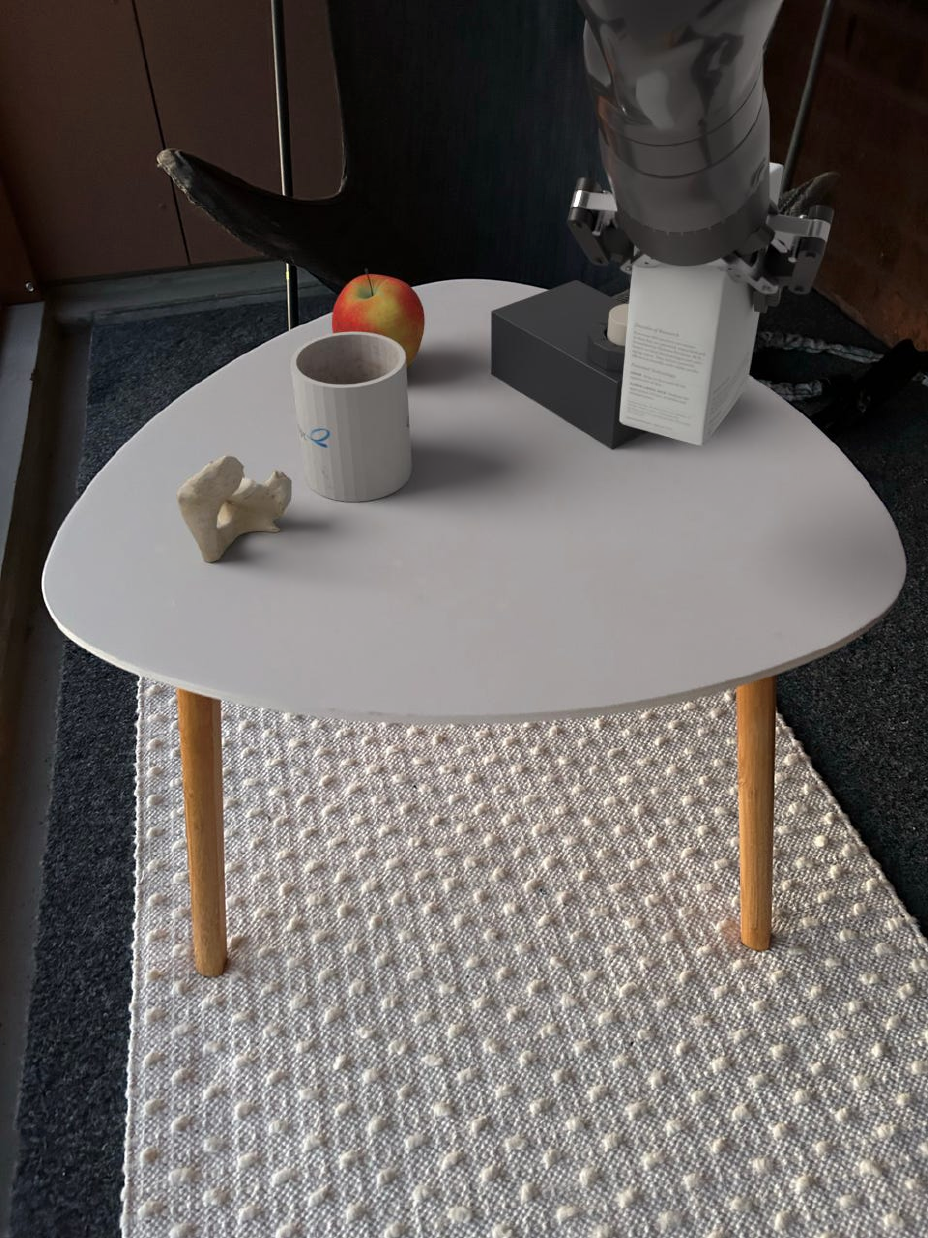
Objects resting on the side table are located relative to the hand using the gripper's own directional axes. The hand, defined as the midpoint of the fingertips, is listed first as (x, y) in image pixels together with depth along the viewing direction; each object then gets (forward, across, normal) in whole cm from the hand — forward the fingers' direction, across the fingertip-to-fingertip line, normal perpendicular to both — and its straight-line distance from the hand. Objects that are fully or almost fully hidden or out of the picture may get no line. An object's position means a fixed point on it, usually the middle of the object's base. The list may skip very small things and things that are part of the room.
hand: (706, 288), depth 67 cm
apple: (+26, +31, +2) cm, 40 cm away
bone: (+7, +31, +21) cm, 38 cm away
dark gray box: (+28, +12, 0) cm, 30 cm away
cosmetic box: (+4, 0, +7) cm, 8 cm away
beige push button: (+20, +8, -3) cm, 21 cm away
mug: (+16, +27, +12) cm, 34 cm away
